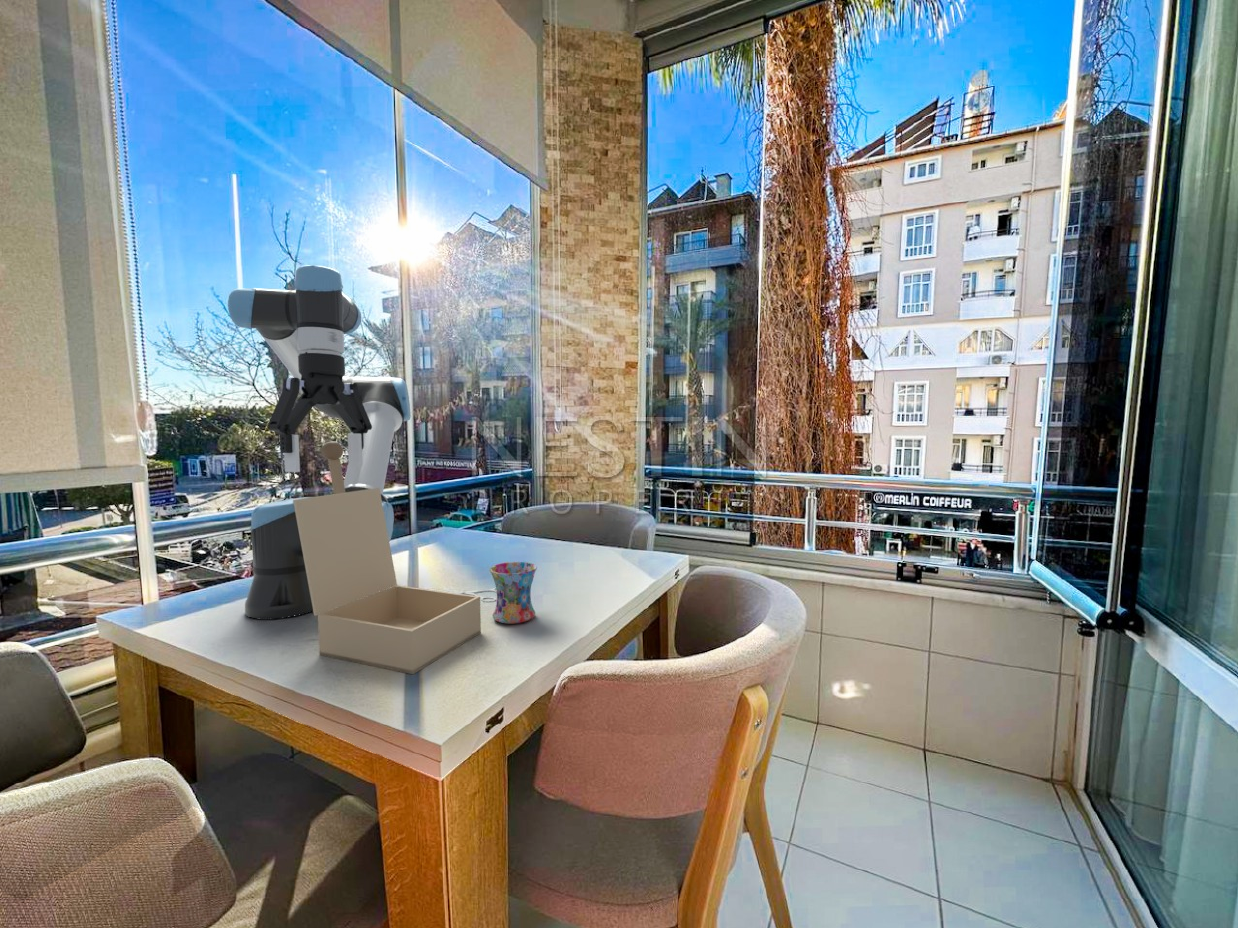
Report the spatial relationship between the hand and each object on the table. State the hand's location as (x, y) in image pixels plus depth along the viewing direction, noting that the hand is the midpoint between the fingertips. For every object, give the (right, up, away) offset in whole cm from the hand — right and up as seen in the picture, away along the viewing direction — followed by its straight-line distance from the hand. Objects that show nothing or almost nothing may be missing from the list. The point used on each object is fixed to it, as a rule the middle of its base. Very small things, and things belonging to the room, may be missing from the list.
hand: (326, 469), depth 99 cm
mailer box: (+16, -31, -4) cm, 36 cm away
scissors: (+19, -30, +25) cm, 44 cm away
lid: (+6, -9, -1) cm, 11 cm away
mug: (+34, -31, +10) cm, 47 cm away
